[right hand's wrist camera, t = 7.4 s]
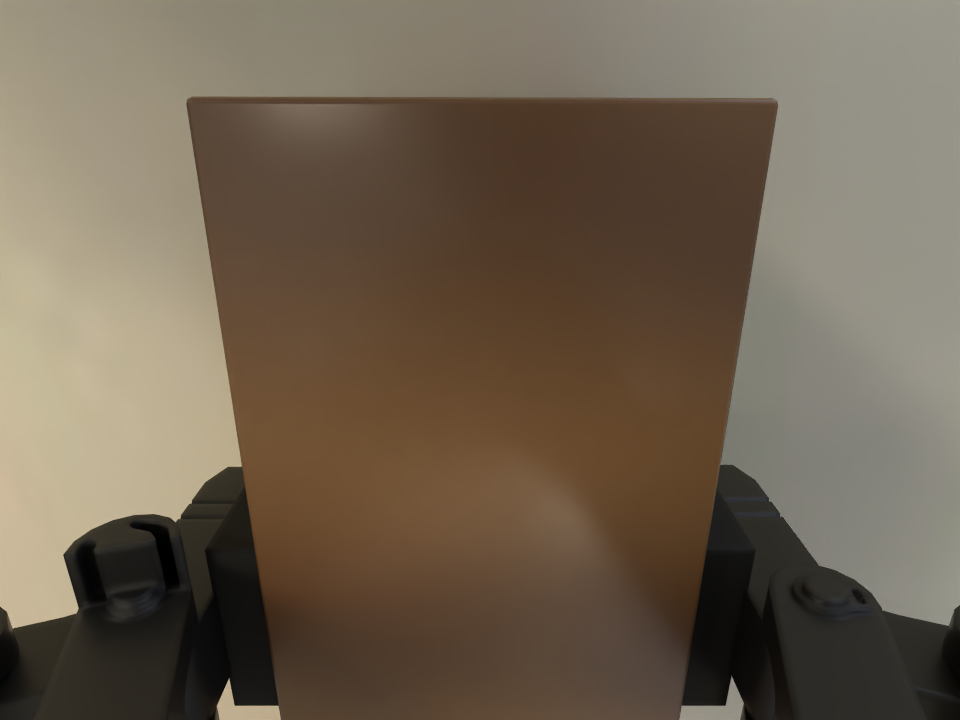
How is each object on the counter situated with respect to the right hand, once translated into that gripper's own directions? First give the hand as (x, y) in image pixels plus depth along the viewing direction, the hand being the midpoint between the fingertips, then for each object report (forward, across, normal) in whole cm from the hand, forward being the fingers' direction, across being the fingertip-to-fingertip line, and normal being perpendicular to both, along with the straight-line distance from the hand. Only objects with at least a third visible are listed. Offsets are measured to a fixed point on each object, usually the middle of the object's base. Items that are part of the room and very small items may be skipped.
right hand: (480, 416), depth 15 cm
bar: (+1, 0, -22) cm, 22 cm away
